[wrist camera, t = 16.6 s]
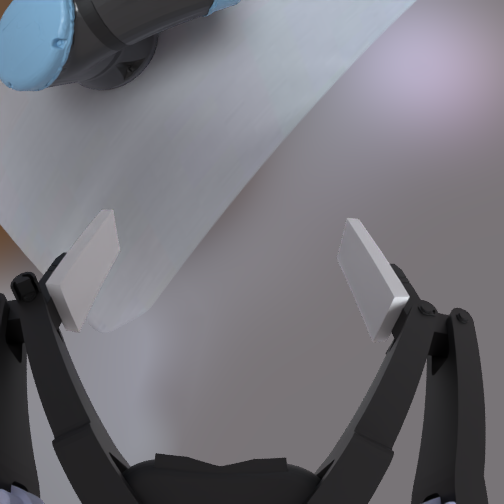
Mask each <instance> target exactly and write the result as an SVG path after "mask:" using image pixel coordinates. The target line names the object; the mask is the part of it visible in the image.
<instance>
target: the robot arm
mask: <svg viewBox="0 0 504 504" xmlns="http://www.w3.org/2000/svg"><path fill="white" fill-rule="evenodd" d="M240 1H241V0H13V1H12V2H11V4H10V5H9V6H8V8H7V10H6V11H5V13H4V14H3V16H2V18H1V21H0V79H1V81H2V82H3V83H4V84H5V85H6V86H7V87H9V88H12V89H14V90H16V91H39V90H43V89H44V88H48V87H53V86H58V85H63V84H69V83H75V82H78V83H79V84H81V85H83V86H85V87H87V88H91V89H97V90H104V89H111V88H116V87H119V86H122V85H124V84H126V83H128V82H130V81H131V80H133V79H134V78H136V77H137V76H138V75H139V74H140V73H141V72H142V71H143V70H144V69H145V68H146V66H147V65H148V64H149V62H150V60H151V59H152V56H153V54H154V52H155V49H156V45H157V36H158V35H157V33H159V32H161V31H163V30H166V29H168V28H171V27H173V26H176V25H178V24H181V23H184V22H186V21H189V20H192V19H195V18H197V17H200V16H203V17H205V16H209V15H210V14H212V13H213V12H215V11H218V10H221V9H224V8H227V7H230V6H233V5H235V4H237V3H239V2H240ZM119 252H120V245H119V240H118V235H117V229H116V223H115V217H114V210H113V209H102V210H101V211H100V212H99V213H98V214H97V216H96V217H95V218H94V219H93V220H92V222H91V223H90V224H89V225H88V227H87V228H86V229H85V230H84V232H83V233H82V234H81V235H80V237H79V238H78V239H77V240H76V242H75V243H74V244H73V246H72V247H71V248H70V250H69V251H68V252H67V253H62V254H61V255H60V256H58V257H57V258H56V259H55V260H54V262H53V263H52V264H51V266H50V267H49V269H48V271H46V273H45V274H44V276H43V277H42V279H41V280H40V281H39V283H38V281H37V279H36V276H35V274H33V273H32V272H25V273H21V274H20V275H18V276H17V277H15V278H14V279H13V281H12V282H11V289H12V291H13V294H14V296H15V298H16V300H12V301H7V299H6V297H5V295H4V294H2V293H0V504H45V503H44V502H43V501H42V500H41V499H40V490H39V482H38V476H37V470H36V466H35V460H34V455H33V448H32V441H31V434H30V425H29V415H28V401H27V372H26V370H27V368H26V366H27V365H26V364H27V354H28V358H29V362H30V366H31V370H32V373H33V377H34V380H35V384H36V387H37V390H38V393H39V396H40V399H41V402H42V405H43V408H44V411H45V414H46V416H47V419H48V422H49V424H50V427H51V429H52V432H53V434H54V438H55V439H54V440H53V441H52V444H53V447H54V450H55V452H56V455H57V457H58V459H59V461H60V463H61V465H62V467H63V470H64V472H65V473H66V475H67V477H68V479H69V481H70V483H71V485H72V487H73V489H74V491H75V492H76V494H77V496H78V497H79V499H80V501H81V503H82V504H368V502H369V501H370V499H371V498H372V496H373V494H374V492H375V491H376V489H377V487H378V485H379V483H380V482H381V480H382V478H383V476H384V474H385V472H386V470H387V469H388V467H389V465H390V463H391V460H392V458H393V455H394V452H393V451H392V447H393V445H394V442H395V440H396V438H397V436H398V434H399V432H400V429H401V427H402V425H403V422H404V420H405V418H406V415H407V413H408V410H409V408H410V405H411V403H412V400H413V397H414V395H415V392H416V389H417V386H418V383H419V380H420V377H421V375H422V371H423V368H424V365H425V362H426V359H427V381H426V398H425V411H424V422H423V431H422V439H421V446H420V452H419V459H418V465H417V470H416V476H415V480H414V485H413V492H412V501H411V504H488V498H487V493H486V486H485V480H484V464H485V404H484V390H483V380H482V372H481V363H480V356H479V349H478V343H477V338H476V332H475V327H474V322H473V319H472V317H471V316H470V314H469V313H468V312H466V311H465V310H463V309H461V308H454V309H453V310H452V311H451V313H450V315H444V314H440V313H438V312H437V310H436V308H435V307H434V306H433V305H432V304H430V303H429V302H427V301H424V300H420V298H419V297H418V295H417V293H416V292H415V290H414V288H413V287H412V285H411V284H410V283H409V281H408V279H407V278H406V276H405V274H404V273H403V271H402V270H401V269H400V268H398V267H397V266H396V265H395V264H389V263H388V261H387V260H386V258H385V256H384V255H383V253H382V252H381V250H380V249H379V247H378V246H377V244H376V243H375V242H374V240H373V239H372V237H371V236H370V234H369V233H368V231H367V230H366V229H365V227H364V226H363V224H362V223H361V222H360V220H359V219H352V218H347V219H346V223H345V228H344V232H343V235H342V239H341V243H340V247H339V251H338V255H337V260H338V263H339V265H340V267H341V269H342V271H343V274H344V276H345V278H346V280H347V283H348V285H349V287H350V289H351V292H352V294H353V296H354V299H355V301H356V303H357V306H358V308H359V311H360V313H361V315H362V318H363V320H364V323H365V325H366V328H367V330H368V333H369V335H370V338H371V340H372V342H381V341H387V339H388V337H389V336H390V334H391V332H392V334H393V336H394V340H393V342H392V344H391V345H390V347H389V349H388V350H387V352H386V357H385V359H384V361H383V363H382V365H381V367H380V369H379V371H378V373H377V375H376V377H375V379H374V381H373V383H372V385H371V386H370V388H369V390H368V392H367V394H366V396H365V398H364V399H363V401H362V403H361V405H360V407H359V408H358V410H357V412H356V414H355V415H354V417H353V419H352V420H351V422H350V424H349V425H348V427H347V428H346V430H345V432H344V433H343V435H342V436H341V438H340V440H339V441H338V443H337V444H336V446H335V447H334V449H333V451H332V452H331V453H330V455H329V456H328V457H327V459H326V460H325V461H324V462H323V464H322V465H321V466H320V467H319V469H318V470H317V471H316V472H315V474H313V473H312V472H310V471H308V470H306V469H304V468H301V467H299V466H294V465H290V464H287V462H286V458H273V459H253V460H249V461H244V462H240V463H236V464H231V465H226V466H216V465H212V464H209V463H205V462H202V461H198V460H195V459H192V458H189V457H182V456H173V455H165V454H157V453H156V455H155V460H148V461H144V462H141V463H138V464H136V465H134V466H131V467H130V466H129V464H128V463H127V461H126V460H125V459H124V458H123V456H122V455H121V454H120V452H119V451H118V449H117V448H116V446H115V445H114V443H113V442H112V440H111V438H110V436H109V435H108V433H107V431H106V429H105V428H104V426H103V424H102V422H101V420H100V419H99V417H98V415H97V413H96V411H95V409H94V407H93V405H92V403H91V401H90V399H89V397H88V395H87V393H86V391H85V389H84V387H83V385H82V383H81V380H80V378H79V376H78V374H77V371H76V369H75V367H74V364H73V362H72V360H71V357H70V355H69V352H68V350H67V347H66V345H65V342H64V339H63V336H62V334H61V331H60V329H59V326H60V324H61V322H62V323H63V325H64V327H65V329H66V330H67V331H72V332H80V330H81V328H82V326H83V324H84V321H85V319H86V317H87V315H88V313H89V311H90V309H91V307H92V305H93V302H94V300H95V298H96V296H97V294H98V292H99V290H100V288H101V286H102V284H103V282H104V280H105V278H106V277H107V275H108V273H109V271H110V269H111V267H112V265H113V263H114V261H115V260H116V258H117V256H118V254H119Z"/></svg>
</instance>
